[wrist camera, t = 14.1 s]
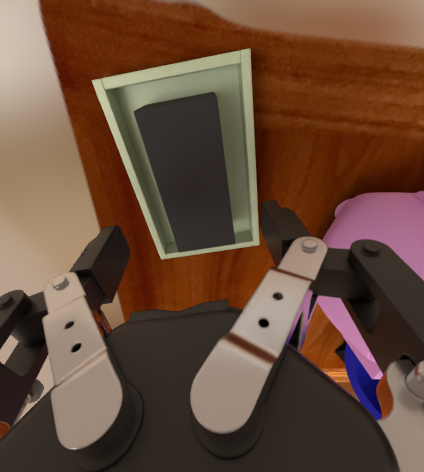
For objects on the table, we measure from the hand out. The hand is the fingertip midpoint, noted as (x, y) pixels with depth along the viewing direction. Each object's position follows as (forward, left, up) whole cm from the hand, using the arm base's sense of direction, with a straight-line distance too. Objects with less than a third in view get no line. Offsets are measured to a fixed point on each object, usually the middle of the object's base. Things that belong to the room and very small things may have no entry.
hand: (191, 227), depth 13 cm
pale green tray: (0, 0, -9) cm, 9 cm away
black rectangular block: (0, 0, -8) cm, 8 cm away
